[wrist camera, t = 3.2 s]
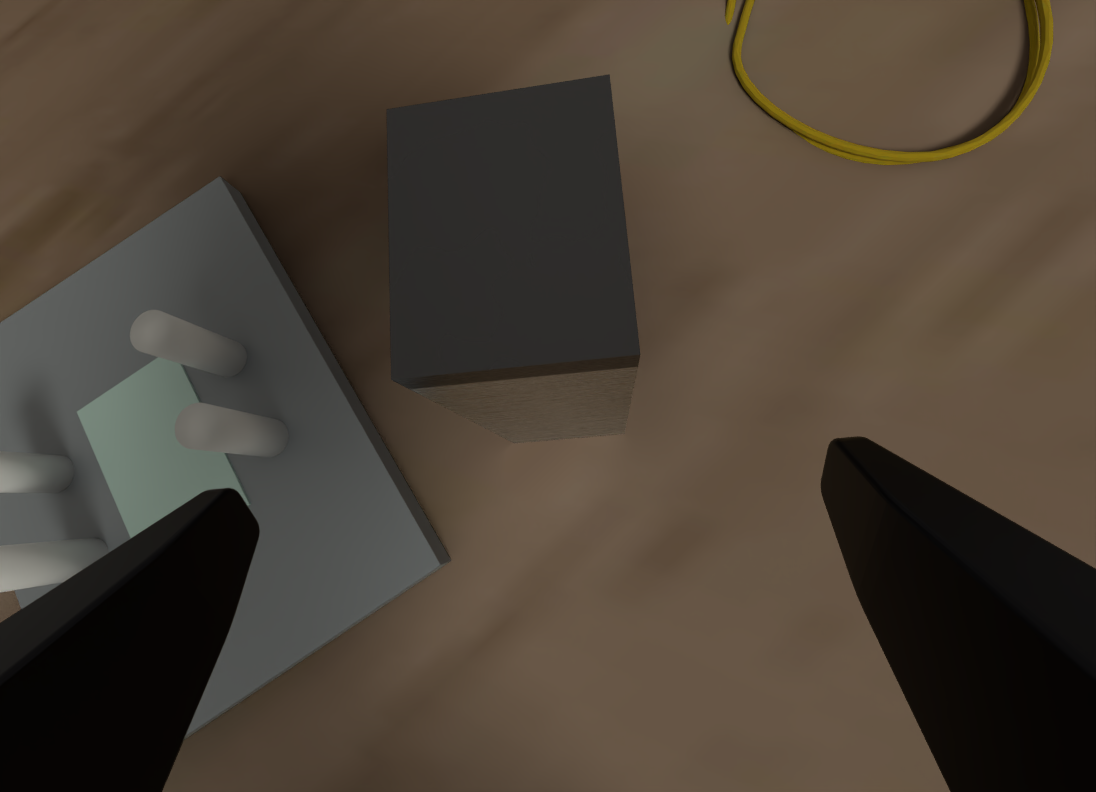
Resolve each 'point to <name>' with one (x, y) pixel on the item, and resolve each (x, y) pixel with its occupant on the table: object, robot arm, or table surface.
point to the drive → (513, 260)
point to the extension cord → (851, 151)
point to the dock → (202, 437)
